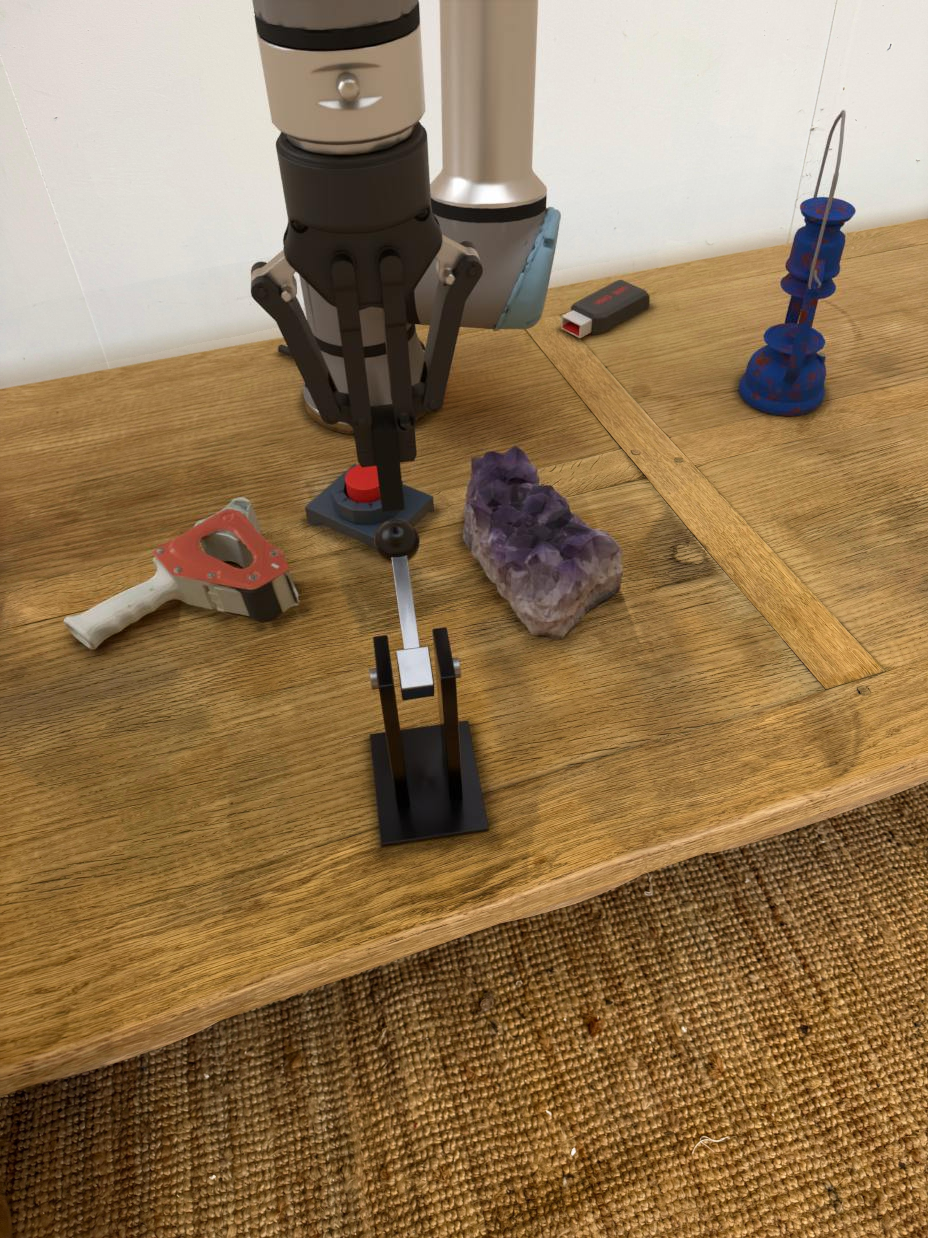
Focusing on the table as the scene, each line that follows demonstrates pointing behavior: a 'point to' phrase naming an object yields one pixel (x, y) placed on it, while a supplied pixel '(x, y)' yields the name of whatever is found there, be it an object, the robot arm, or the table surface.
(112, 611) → the tape dispenser
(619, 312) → the usb drive
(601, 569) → the geode
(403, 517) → the button box
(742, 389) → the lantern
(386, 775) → the switch bracket
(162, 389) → the table surface
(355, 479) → the button
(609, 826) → the table surface
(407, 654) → the switch lever
